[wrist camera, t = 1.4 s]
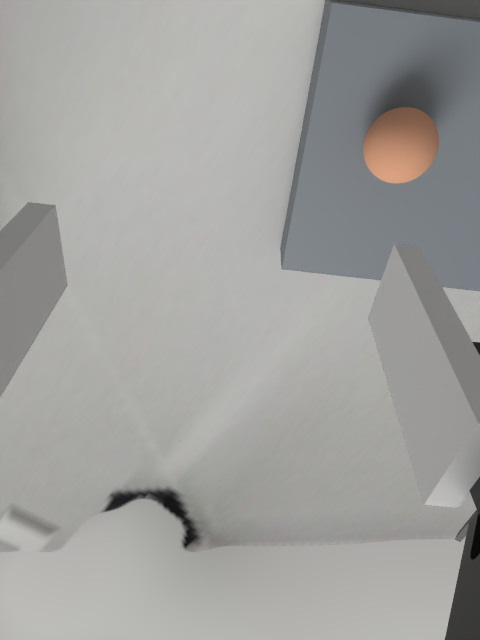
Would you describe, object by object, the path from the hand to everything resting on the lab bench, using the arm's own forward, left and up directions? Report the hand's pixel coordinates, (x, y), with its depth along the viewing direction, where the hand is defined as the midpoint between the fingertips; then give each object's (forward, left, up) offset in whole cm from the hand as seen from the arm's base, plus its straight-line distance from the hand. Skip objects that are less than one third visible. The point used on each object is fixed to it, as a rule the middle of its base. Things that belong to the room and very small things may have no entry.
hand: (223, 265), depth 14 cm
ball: (+9, 0, -15) cm, 17 cm away
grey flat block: (+16, -2, -20) cm, 25 cm away
